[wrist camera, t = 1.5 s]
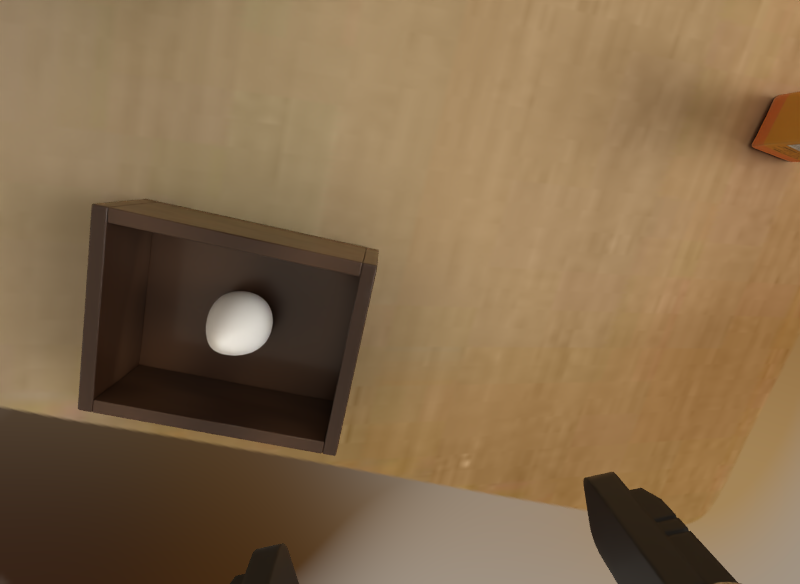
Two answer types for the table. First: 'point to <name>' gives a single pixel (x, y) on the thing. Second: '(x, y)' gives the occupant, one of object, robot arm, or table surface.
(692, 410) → the table surface
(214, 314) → the egg
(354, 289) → the crate
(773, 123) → the supplement box
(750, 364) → the table surface
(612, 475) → the robot arm
